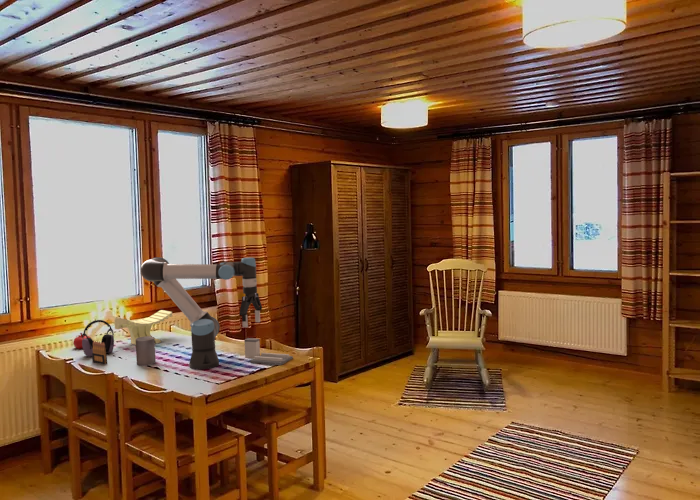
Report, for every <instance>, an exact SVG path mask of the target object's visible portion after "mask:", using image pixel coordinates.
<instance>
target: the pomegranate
mask: <svg viewBox="0 0 700 500" xmlns="http://www.w3.org/2000/svg"><path fill="white" fill-rule="evenodd" d="M79 334H80V335H76V336H75V338H74V340H73V342H72V343H73V346H74V348H75V349H78V350H83V347H82V340H83V339H85V338H86V339H87V337H86V336H85V335H84V336H83V339H82V334H83V332H80V333H79ZM87 336H88V338H91V336H89V335H87ZM91 339H92V338H91Z"/></svg>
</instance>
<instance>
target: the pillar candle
mask: <svg viewBox="0 0 700 500" xmlns="http://www.w3.org/2000/svg"><path fill="white" fill-rule="evenodd" d="M154 338H156V337H154V336H153V335H151V336H145V337H139V338H136V345H135V350H136V351H135V356H136V358H135V359H136V365H137V366H150V365H153V364H156V362H157V361H156V345H155V344H156V343H155V340H154Z"/></svg>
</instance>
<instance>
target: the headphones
mask: <svg viewBox="0 0 700 500" xmlns="http://www.w3.org/2000/svg"><path fill="white" fill-rule="evenodd" d="M96 323H103V324H105V325H106V326H107V327H108V329H107V332H106V334H104V335H103V336H102V338H101V341H100V343H101V342H102V343H103V342H104V344H105V349H106V354H110V353H113V352H114V347H115V337H114V330H113V328H112V325H110V323H108V322H107V321H106V320H102V319H97V320H95V319H94V320H93V321H91V322H89V323H87V325H86V326H85V328H84V330H83V332H82V339H83V336H84V335H85V336H86V337H87V339H86V338H85V339H83V340H82V347H83V349H82V350H83V354H84V355H85V356H87V357H89V358H90V357H92V353H93V341H94V340H93V338H88V336H89V335H88V334H86V331H88V329H89V328H90V327H91V326H93V325H94V324H96ZM109 332H111V334H110V333H109Z"/></svg>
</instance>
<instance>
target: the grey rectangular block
mask: <svg viewBox="0 0 700 500" xmlns="http://www.w3.org/2000/svg"><path fill="white" fill-rule="evenodd" d="M260 347H261V346H260V338H254V337H250V338H249V337H247V338H245V339H244V357H245V358H247V359H254V357H255V356H261V350H260V349H261V348H260Z"/></svg>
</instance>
